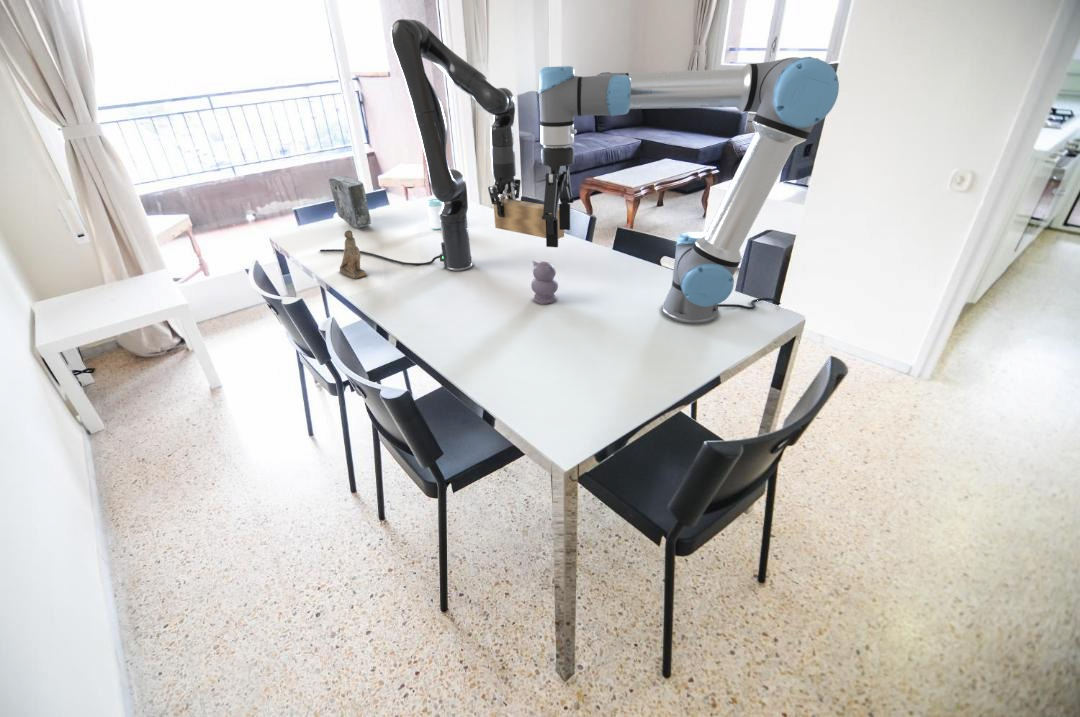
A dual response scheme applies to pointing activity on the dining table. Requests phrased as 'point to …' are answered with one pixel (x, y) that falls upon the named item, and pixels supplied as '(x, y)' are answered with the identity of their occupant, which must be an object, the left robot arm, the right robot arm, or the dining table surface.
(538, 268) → the cat figurine
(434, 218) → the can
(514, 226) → the bar
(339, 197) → the concrete block
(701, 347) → the dining table surface
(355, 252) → the worn brown figurine
